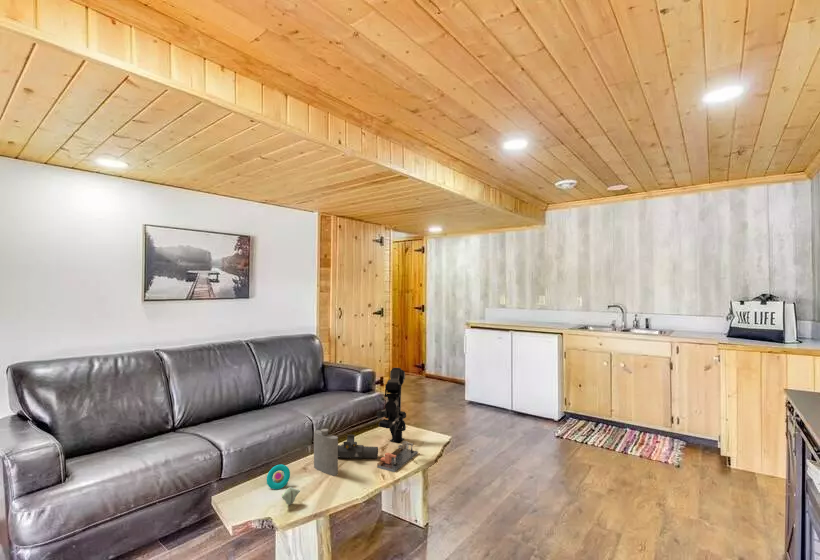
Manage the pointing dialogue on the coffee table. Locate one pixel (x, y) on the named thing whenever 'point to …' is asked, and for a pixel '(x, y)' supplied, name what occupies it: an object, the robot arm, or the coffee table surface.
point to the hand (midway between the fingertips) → (392, 435)
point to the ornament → (278, 477)
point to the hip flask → (326, 452)
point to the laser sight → (356, 450)
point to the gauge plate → (399, 457)
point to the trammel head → (388, 458)
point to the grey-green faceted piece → (290, 495)
